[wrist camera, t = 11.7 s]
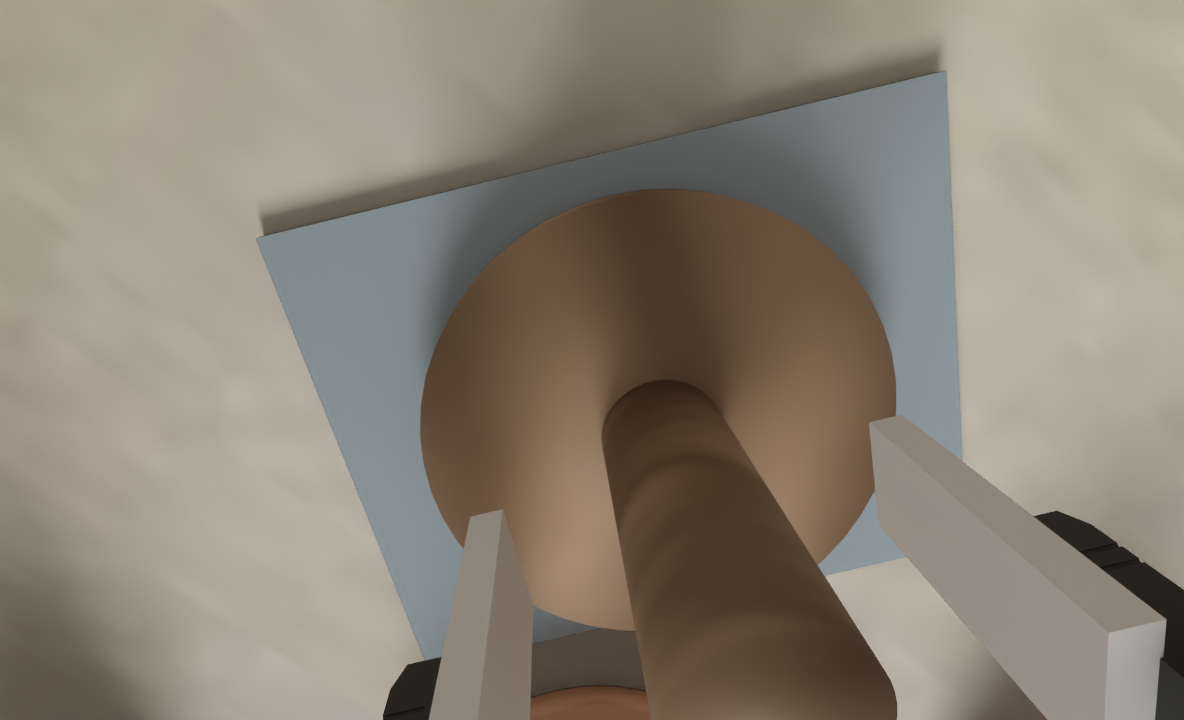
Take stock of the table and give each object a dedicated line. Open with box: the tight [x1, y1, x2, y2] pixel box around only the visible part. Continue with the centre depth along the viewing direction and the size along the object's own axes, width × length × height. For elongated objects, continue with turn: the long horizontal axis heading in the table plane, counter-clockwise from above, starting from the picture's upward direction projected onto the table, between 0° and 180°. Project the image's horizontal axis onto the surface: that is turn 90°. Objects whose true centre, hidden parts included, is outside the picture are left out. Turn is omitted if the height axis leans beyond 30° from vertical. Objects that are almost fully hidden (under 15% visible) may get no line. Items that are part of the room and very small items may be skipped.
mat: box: [256, 71, 962, 661], centre depth 21 cm, size 20×16×1 cm
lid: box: [420, 189, 897, 720], centre depth 15 cm, size 14×14×12 cm
